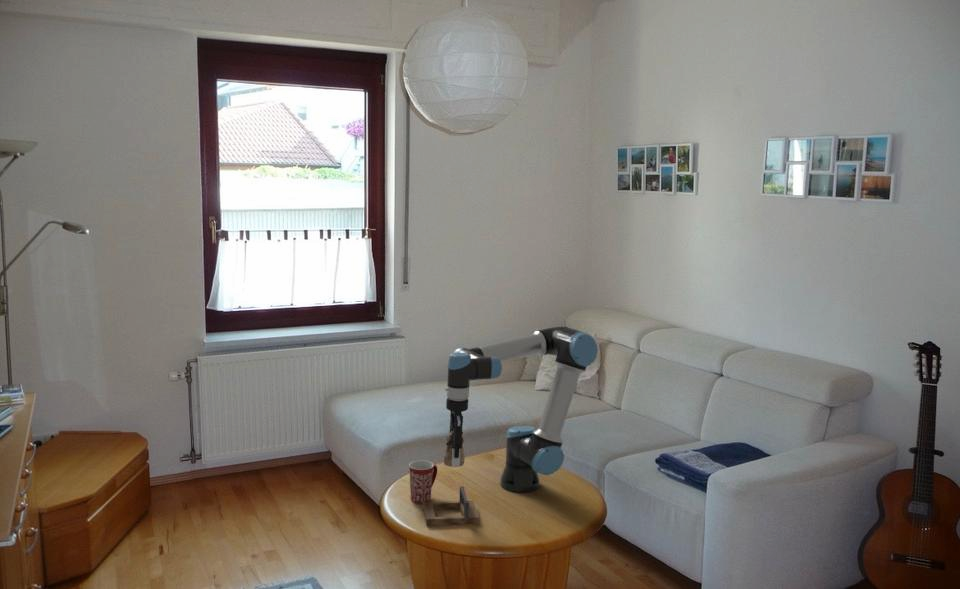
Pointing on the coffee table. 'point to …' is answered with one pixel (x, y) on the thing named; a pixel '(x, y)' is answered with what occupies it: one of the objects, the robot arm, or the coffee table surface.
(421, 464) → the mug
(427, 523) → the wooden stand
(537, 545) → the coffee table surface
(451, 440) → the figurine
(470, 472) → the coffee table surface
